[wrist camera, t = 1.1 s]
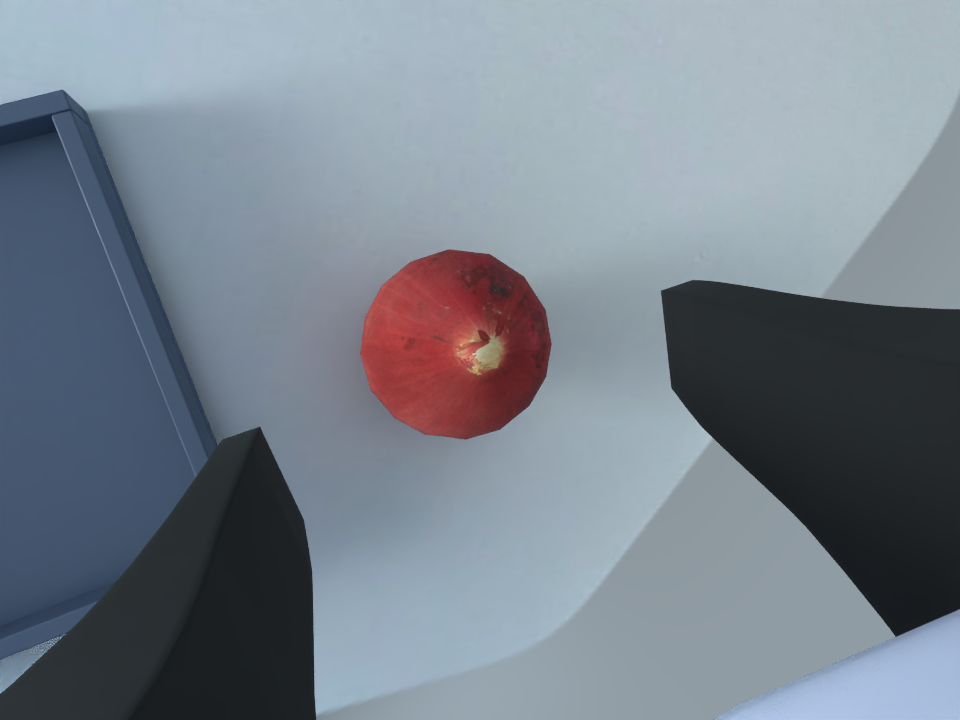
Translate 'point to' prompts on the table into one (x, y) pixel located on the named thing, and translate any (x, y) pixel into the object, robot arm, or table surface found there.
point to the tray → (79, 379)
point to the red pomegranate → (456, 344)
